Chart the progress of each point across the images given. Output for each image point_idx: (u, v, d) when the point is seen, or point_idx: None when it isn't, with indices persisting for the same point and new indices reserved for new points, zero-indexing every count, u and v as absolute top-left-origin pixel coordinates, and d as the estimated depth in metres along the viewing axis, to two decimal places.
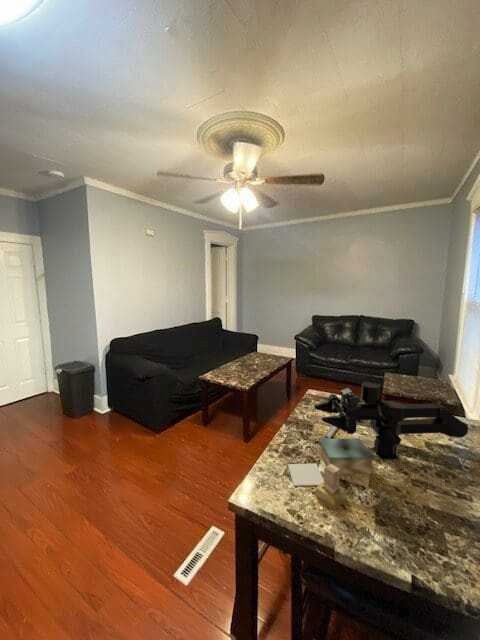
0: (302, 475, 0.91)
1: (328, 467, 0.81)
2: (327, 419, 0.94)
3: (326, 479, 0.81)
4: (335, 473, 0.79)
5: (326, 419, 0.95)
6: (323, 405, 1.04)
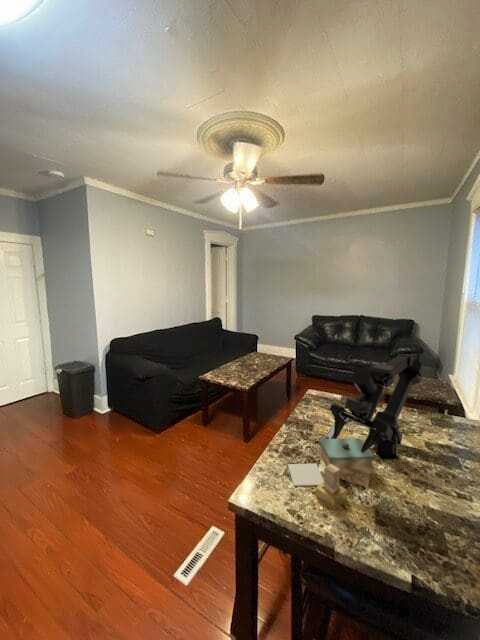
0: (302, 475, 0.91)
1: (328, 467, 0.81)
2: (366, 447, 0.81)
3: (326, 479, 0.81)
4: (335, 473, 0.79)
5: (365, 448, 0.82)
6: (338, 428, 0.90)
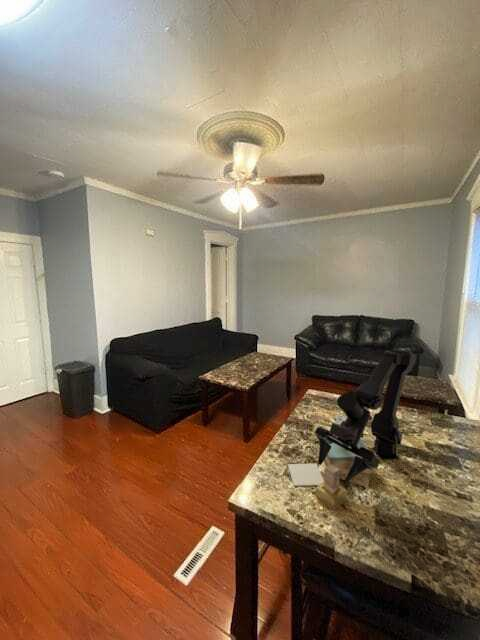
0: (302, 475, 0.91)
1: (328, 467, 0.81)
2: (351, 476, 0.77)
3: (326, 479, 0.81)
4: (335, 473, 0.79)
5: (350, 477, 0.78)
6: (323, 453, 0.86)
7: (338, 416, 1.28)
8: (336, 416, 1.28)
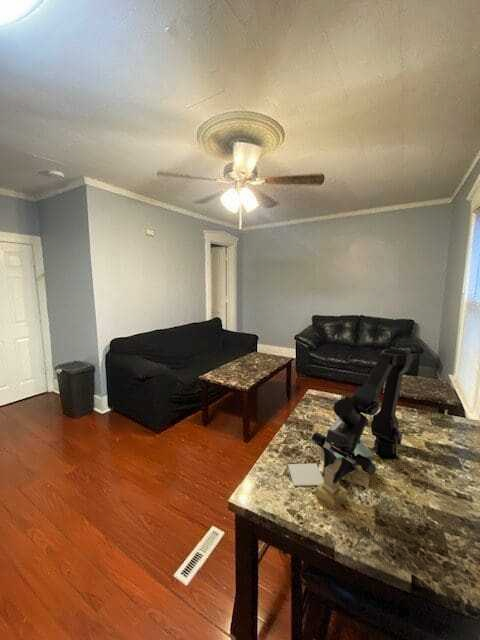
0: (302, 475, 0.91)
1: (328, 467, 0.81)
2: (338, 478, 0.79)
3: (326, 479, 0.81)
4: (335, 473, 0.79)
5: (337, 479, 0.79)
6: None
7: None
8: (337, 416, 1.28)
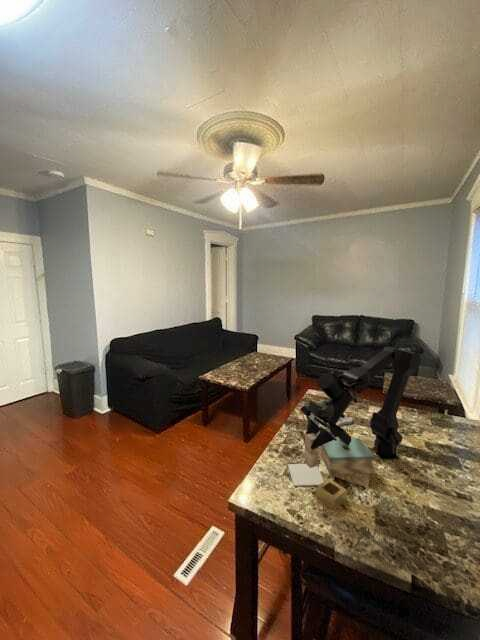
0: (302, 475, 0.91)
1: (309, 435, 0.88)
2: (315, 445, 0.85)
3: (306, 445, 0.88)
4: (313, 440, 0.86)
5: (315, 445, 0.85)
6: None
7: None
8: None
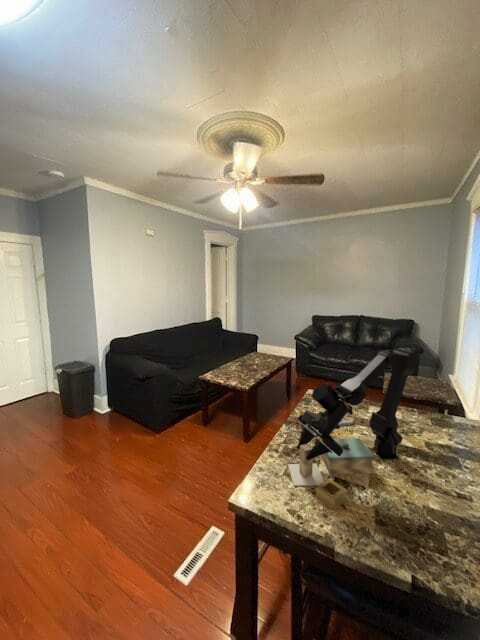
0: None
1: (303, 445, 0.91)
2: (311, 455, 0.87)
3: (300, 455, 0.91)
4: (307, 451, 0.89)
5: (310, 456, 0.88)
6: (303, 440, 0.94)
7: None
8: None
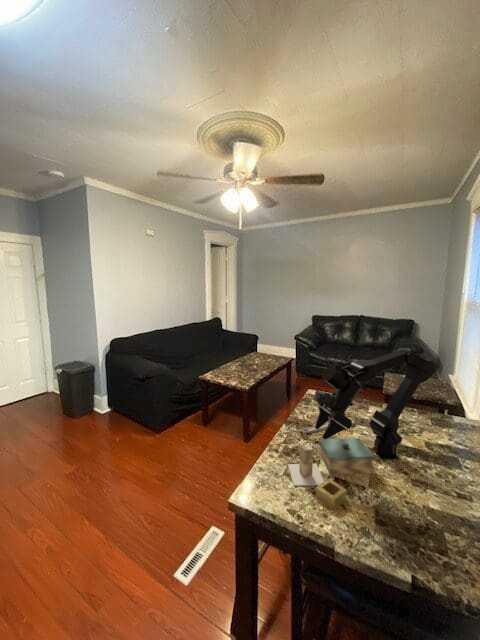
0: None
1: (303, 445, 0.91)
2: (326, 434, 0.89)
3: (300, 455, 0.91)
4: (307, 451, 0.89)
5: (326, 435, 0.89)
6: (320, 419, 0.99)
7: None
8: None
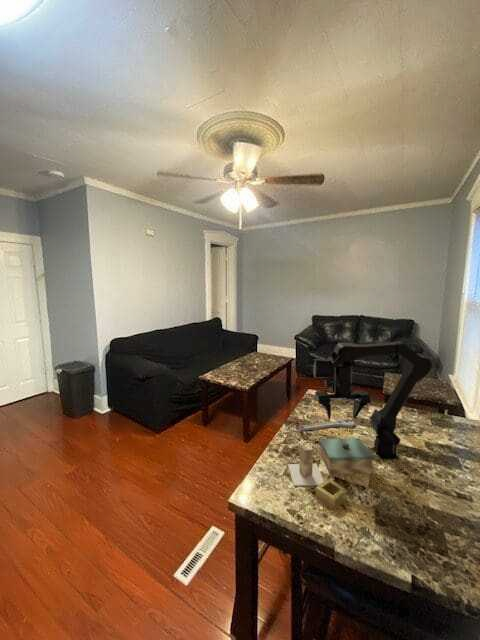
0: None
1: (303, 445, 0.91)
2: (327, 414, 1.02)
3: (300, 455, 0.91)
4: (307, 451, 0.89)
5: (328, 415, 1.02)
6: (354, 409, 1.02)
7: (342, 419, 1.25)
8: (340, 419, 1.26)
